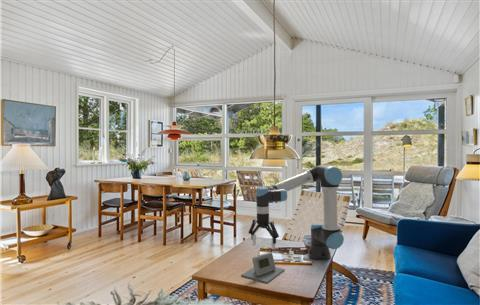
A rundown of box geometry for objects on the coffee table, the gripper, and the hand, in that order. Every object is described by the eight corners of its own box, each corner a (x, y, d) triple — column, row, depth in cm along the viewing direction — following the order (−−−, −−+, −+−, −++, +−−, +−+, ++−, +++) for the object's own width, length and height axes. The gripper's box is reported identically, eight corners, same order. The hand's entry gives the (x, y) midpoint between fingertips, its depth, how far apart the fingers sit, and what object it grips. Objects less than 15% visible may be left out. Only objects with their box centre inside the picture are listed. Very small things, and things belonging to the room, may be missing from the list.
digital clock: (256, 277, 192) (256, 259, 192) (248, 272, 201) (248, 255, 200) (279, 272, 200) (278, 255, 199) (271, 267, 208) (271, 250, 207)
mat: (260, 264, 215) (260, 263, 215) (284, 270, 204) (284, 269, 204) (241, 276, 196) (241, 274, 196) (267, 283, 186) (267, 282, 186)
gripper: (242, 211, 203) (243, 245, 204) (278, 216, 189) (278, 252, 190) (249, 209, 209) (249, 241, 210) (283, 213, 195) (284, 248, 196)
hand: (263, 246), depth 200 cm, fingers open, 13 cm apart
